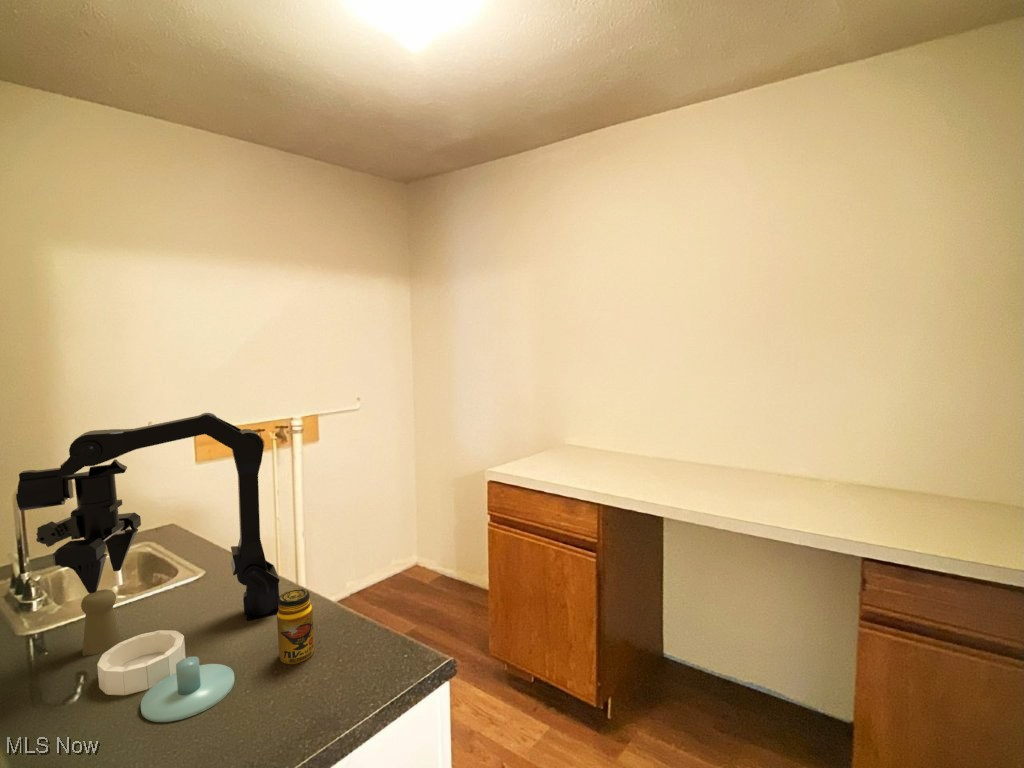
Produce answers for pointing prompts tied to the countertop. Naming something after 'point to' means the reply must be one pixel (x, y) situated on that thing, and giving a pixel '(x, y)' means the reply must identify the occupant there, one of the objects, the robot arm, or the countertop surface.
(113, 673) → the bowl
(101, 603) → the pepper shaker
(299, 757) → the countertop surface
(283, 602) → the condiment
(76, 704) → the countertop surface
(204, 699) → the lid
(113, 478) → the robot arm
